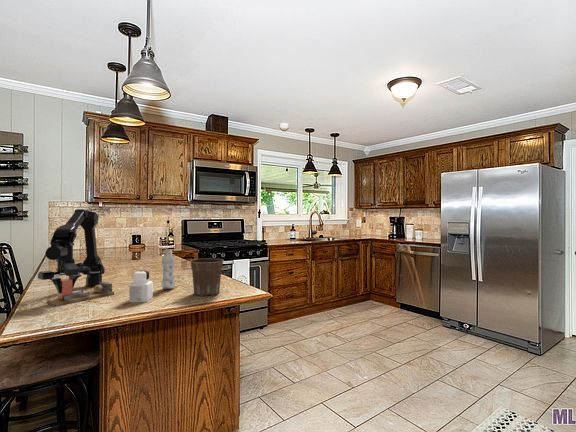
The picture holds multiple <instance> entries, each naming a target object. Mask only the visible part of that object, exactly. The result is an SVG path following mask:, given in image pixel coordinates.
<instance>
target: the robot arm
mask: <svg viewBox="0 0 576 432" xmlns="http://www.w3.org/2000/svg"><path fill="white" fill-rule="evenodd" d="M99 217H100V216H99V214H98V213H97V212H95V211H90V210H88V209H86V208H81V209H80V208H78V209H75V210H74V212H73V213H72V216H71V217H70V218H69V219H68V220H67V222H66V223H65V224H62V225H60V226H59V227H57V228H56V229H55V231H54V232H53V234H52V237H51V240H50V242H49V244H50V246H49V247H47V248H46V250H45V257H46V258H47V259H48V260H51V261H56V263H57V268H55V271H53V270H43V271H39V272H38V273H37V279H38V280H42V281H44V280H45V281H47V280H50V281H51V282H52V283H53V285H54V287H55V289H56V290H57V292H58V293H59V294H60V293H61V284H60V281H61V280H62V278H61V276H67V277H68V279H72V290H73V289H74V287H75V284H76V282H77V281H78V279H79V278H80V277H82V275H83V276H86V278H85V284H84V285H85V286H86V287H88V288H94V287H95V286H96V285H99V282H103V275H105V271H106V268H105V266H104V264H103V263H102V258H101V257H100V256H99V255H98V249H97V240H96V239H97V238H96V237H97V236H96V227H97V226H98V224H99ZM79 227H81V228H82V230H83V231H84V241H85V242H84V243H85V251H86V252H85V254H86V257H85V259H84V260H83V262H78V263H76V262H75V258H74V246H75V243H74V242H75V240H76V238H77V236H78V233H77V230H78V228H79ZM58 293H57V294H58Z"/></svg>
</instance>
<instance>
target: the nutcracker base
mask: <svg viewBox="0 0 576 432" xmlns="http://www.w3.org/2000/svg"><path fill="white" fill-rule="evenodd" d="M78 291H82V293H79V294H74V295H68V296H64V300H61V299H59V298H58V297H53V298H47V300H46V301H47V302H46V303H49V304H51V305H54V306H57V307H60V306H64V305H69V304H74V303H75V304H76V303H79V302H83V301H84V302H85V301H89V300H93V299H94V300H95V299H100V298H104V297H109V296H113V295H115V291H113V282H112V283H111V282H106V281H103V280H102V282H99V285H96V286H95V287H93V290H92V291H91V290H90V291H86V292H85V291H84V290H83V289H82V290H81V289H79V290H78Z"/></svg>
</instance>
